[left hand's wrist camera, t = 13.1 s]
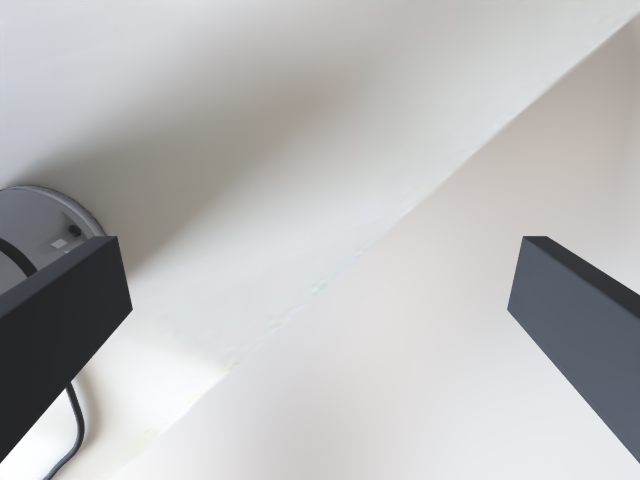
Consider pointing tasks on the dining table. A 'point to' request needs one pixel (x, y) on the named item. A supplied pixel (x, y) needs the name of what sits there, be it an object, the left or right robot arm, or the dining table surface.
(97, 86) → the dining table surface
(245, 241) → the dining table surface
